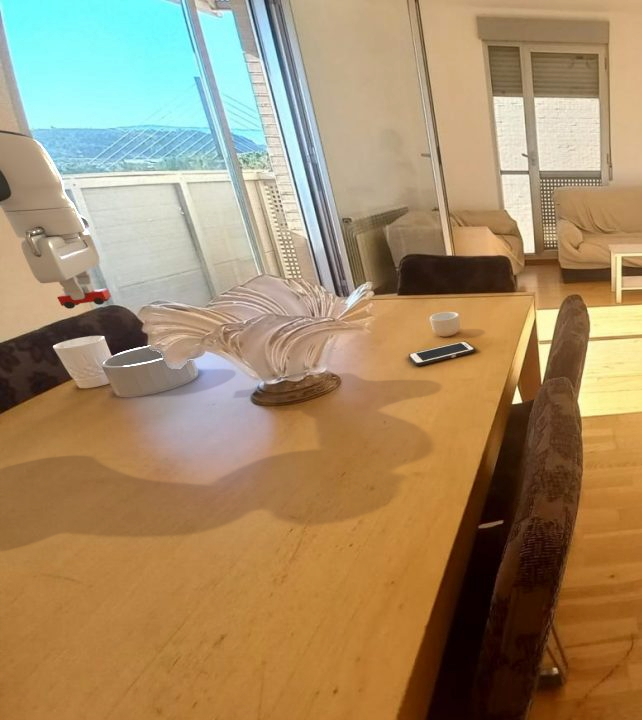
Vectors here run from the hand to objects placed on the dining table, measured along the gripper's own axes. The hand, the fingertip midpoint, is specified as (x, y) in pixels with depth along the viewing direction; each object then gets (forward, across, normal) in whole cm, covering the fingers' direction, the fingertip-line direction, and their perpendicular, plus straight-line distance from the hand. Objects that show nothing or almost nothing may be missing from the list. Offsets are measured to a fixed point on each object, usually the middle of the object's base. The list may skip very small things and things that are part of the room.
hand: (84, 296), depth 94 cm
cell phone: (+23, -18, -62) cm, 68 cm away
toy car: (+2, 0, 0) cm, 2 cm away
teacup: (+23, -1, -66) cm, 70 cm away
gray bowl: (+22, +4, -4) cm, 22 cm away
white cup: (+22, +13, +8) cm, 27 cm away
